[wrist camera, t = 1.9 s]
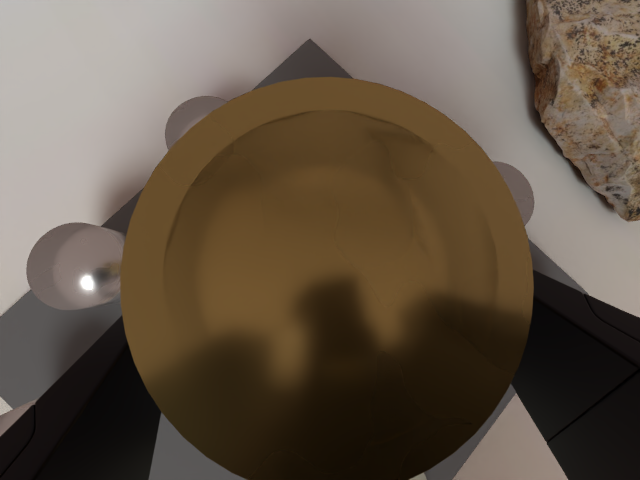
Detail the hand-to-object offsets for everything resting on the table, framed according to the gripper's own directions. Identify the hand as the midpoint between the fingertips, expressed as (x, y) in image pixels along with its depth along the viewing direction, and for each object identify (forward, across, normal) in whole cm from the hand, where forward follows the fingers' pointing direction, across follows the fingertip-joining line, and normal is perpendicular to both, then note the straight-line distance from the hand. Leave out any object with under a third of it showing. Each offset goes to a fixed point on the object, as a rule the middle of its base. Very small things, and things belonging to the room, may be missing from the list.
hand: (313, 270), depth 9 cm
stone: (+14, -21, -1) cm, 25 cm away
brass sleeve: (+5, 0, +5) cm, 8 cm away
